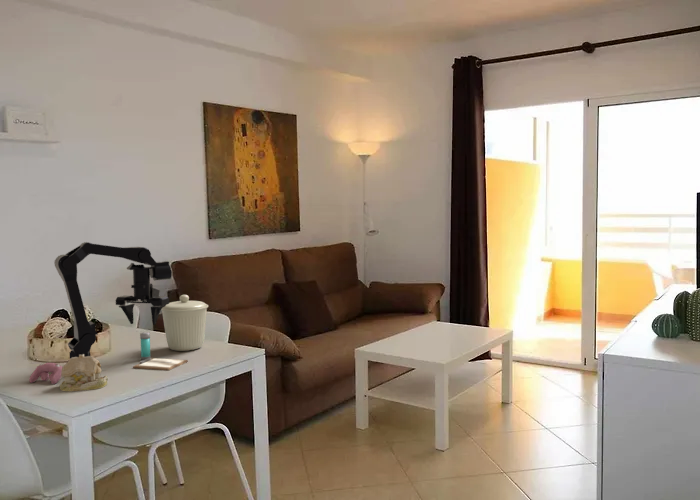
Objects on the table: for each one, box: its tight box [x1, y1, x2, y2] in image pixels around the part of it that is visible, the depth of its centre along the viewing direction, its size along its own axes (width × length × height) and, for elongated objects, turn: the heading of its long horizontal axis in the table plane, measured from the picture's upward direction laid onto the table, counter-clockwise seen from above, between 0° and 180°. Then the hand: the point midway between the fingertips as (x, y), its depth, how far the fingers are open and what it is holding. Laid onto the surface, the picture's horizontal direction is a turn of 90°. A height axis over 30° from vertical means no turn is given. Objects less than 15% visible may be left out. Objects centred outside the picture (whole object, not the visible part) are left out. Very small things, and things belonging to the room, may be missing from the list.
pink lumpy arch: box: [28, 362, 64, 385], centre depth 194 cm, size 10×5×7 cm, turn 75°
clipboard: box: [132, 357, 189, 371], centre depth 213 cm, size 12×14×1 cm
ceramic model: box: [59, 354, 109, 392], centre depth 188 cm, size 14×11×10 cm
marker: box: [139, 331, 152, 361], centre depth 221 cm, size 3×3×10 cm
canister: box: [161, 294, 209, 352], centre depth 237 cm, size 18×18×21 cm
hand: (143, 324), depth 222 cm, fingers open, 9 cm apart
